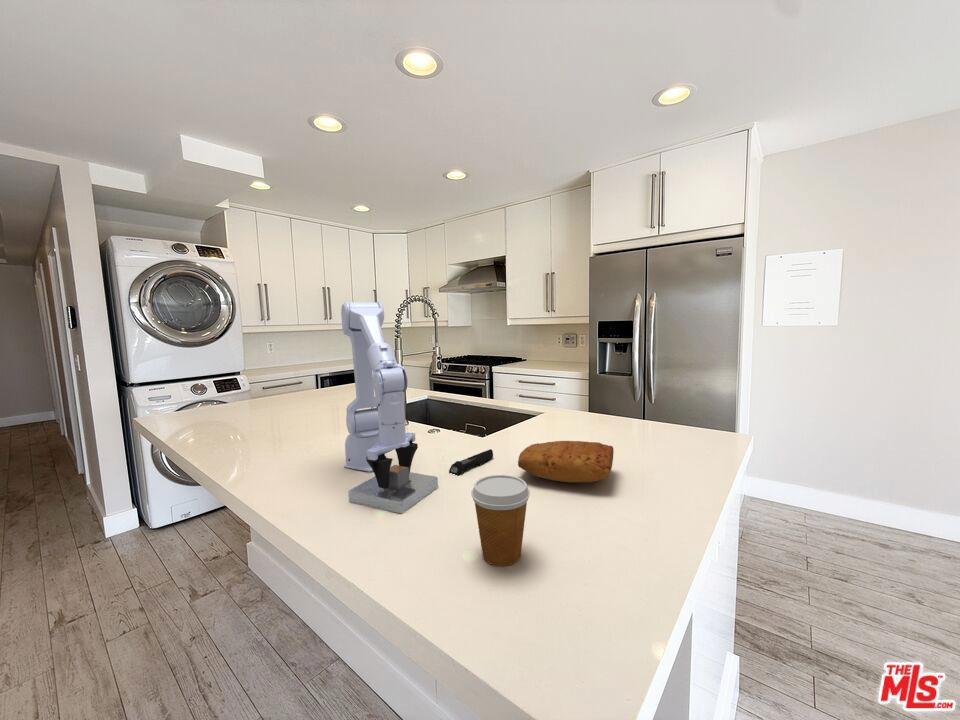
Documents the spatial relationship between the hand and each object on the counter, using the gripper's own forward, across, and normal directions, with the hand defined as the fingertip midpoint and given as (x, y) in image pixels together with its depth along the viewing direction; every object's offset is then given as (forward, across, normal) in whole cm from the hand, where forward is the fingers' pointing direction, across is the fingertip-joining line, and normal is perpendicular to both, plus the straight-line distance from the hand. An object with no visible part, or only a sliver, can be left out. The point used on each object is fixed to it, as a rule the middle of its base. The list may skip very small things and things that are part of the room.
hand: (394, 480), depth 90 cm
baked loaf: (+3, +24, -33) cm, 41 cm away
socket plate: (+3, 0, 0) cm, 3 cm away
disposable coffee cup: (+3, -12, -31) cm, 33 cm away
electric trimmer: (+4, +22, -8) cm, 24 cm away
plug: (+3, 0, 0) cm, 3 cm away
